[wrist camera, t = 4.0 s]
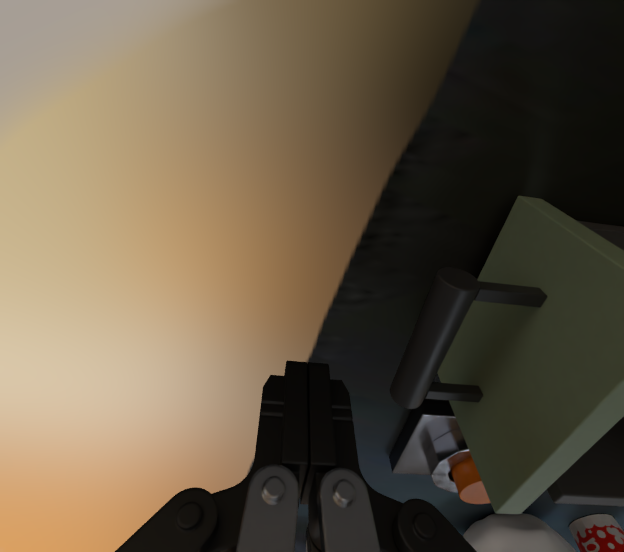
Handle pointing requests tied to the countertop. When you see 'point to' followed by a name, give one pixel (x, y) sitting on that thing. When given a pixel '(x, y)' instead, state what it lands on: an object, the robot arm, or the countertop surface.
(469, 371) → the pull-out drawer
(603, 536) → the beverage cup
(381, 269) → the countertop surface
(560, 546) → the cell model
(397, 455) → the control block
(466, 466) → the button
